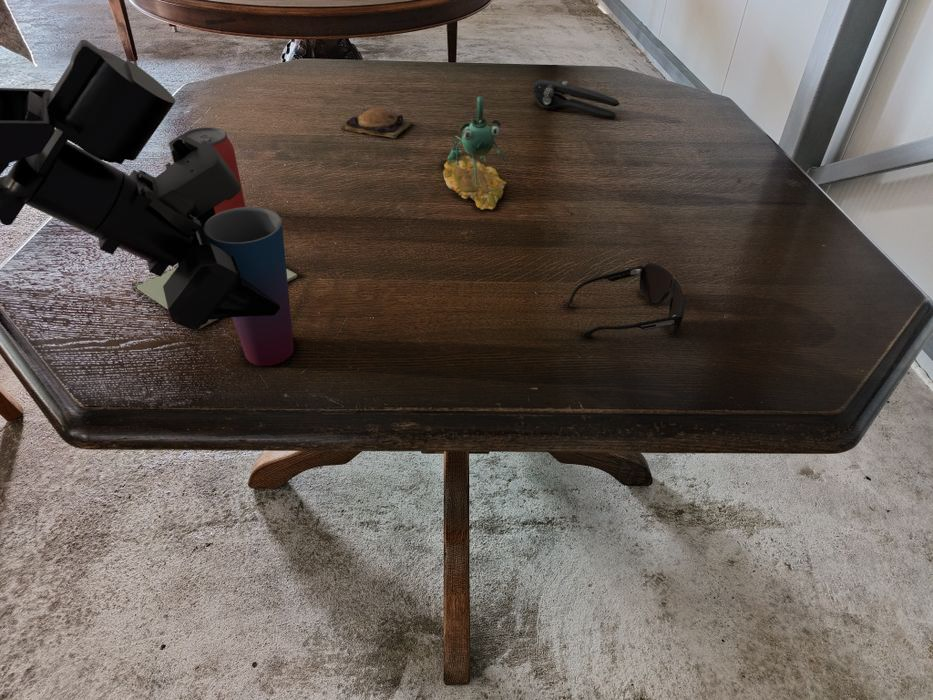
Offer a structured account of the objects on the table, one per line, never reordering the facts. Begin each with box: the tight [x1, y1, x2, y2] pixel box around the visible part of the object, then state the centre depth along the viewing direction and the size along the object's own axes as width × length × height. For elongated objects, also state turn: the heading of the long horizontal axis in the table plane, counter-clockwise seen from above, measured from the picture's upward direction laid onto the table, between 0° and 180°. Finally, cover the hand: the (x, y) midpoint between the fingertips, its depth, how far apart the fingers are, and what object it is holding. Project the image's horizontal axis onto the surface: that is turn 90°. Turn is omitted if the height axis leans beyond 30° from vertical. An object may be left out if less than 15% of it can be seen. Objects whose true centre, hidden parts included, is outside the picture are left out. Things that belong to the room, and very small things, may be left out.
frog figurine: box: [442, 95, 507, 211], centre depth 95 cm, size 10×18×15 cm, turn 13°
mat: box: [136, 268, 298, 331], centre depth 75 cm, size 14×12×1 cm
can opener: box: [533, 79, 620, 120], centre depth 125 cm, size 18×7×6 cm, turn 67°
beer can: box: [182, 126, 247, 214], centre depth 83 cm, size 7×7×12 cm
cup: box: [204, 206, 295, 367], centre depth 62 cm, size 7×7×15 cm
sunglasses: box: [567, 262, 686, 339], centre depth 72 cm, size 10×12×5 cm
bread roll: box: [344, 106, 412, 139], centre depth 115 cm, size 11×8×4 cm
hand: (266, 284), depth 61 cm, fingers open, 9 cm apart
